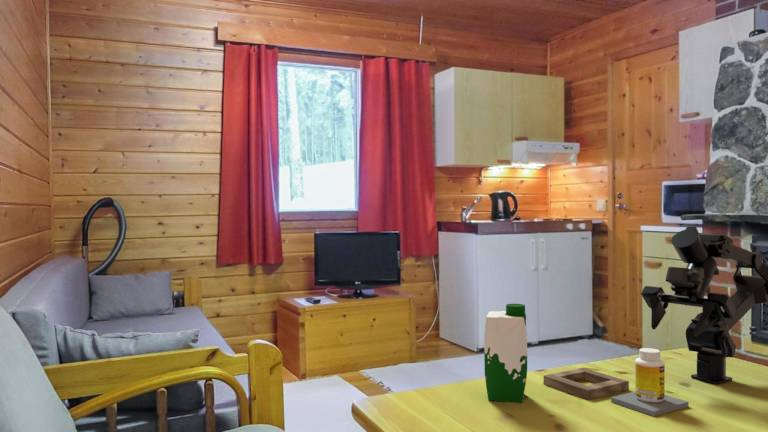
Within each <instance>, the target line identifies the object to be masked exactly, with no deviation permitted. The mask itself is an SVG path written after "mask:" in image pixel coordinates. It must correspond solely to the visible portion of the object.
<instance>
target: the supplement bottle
mask: <svg viewBox="0 0 768 432" xmlns="http://www.w3.org/2000/svg"><path fill="white" fill-rule="evenodd" d="M638 352H639V353H638V356H639V357H637V358H636V359H635V360H634V365H635V366H634V370H635V371H634V380H635V382H634V384H635V385H634V386H635V387H634V389H635V390H634V392H635V396H636V398H637V399H639V400H641V401H644V402H650V403H659V402H662V401H663V400H664V397H665V395H666V394H665V386H666V385H665V383H666V382H665V381H666V380H665V378H666V377H665V375H666V374H665V373H666V372H665V362H664V360H663V359H661V351H660V350H659V349H657V348H650V347H643V348H642V347H641V348H639V351H638Z"/></svg>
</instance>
